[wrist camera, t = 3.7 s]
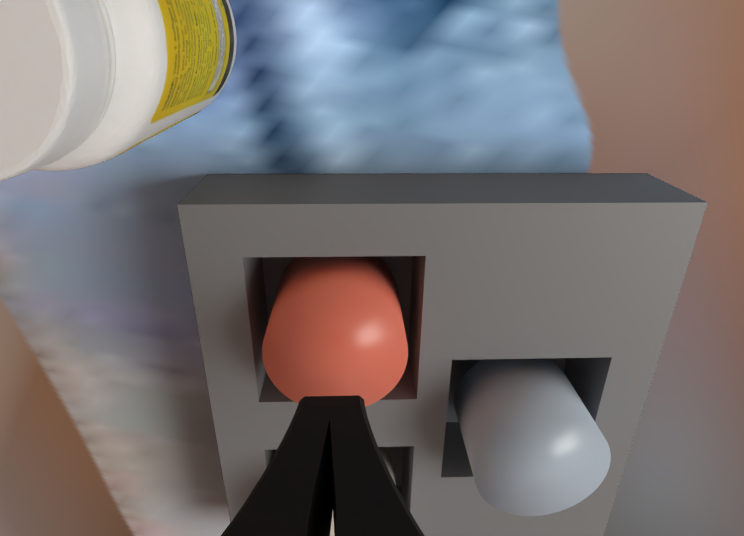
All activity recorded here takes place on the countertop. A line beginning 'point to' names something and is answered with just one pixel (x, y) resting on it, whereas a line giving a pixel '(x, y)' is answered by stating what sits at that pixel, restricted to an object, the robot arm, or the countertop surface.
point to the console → (446, 310)
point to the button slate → (529, 436)
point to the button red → (336, 330)
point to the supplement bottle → (104, 75)
